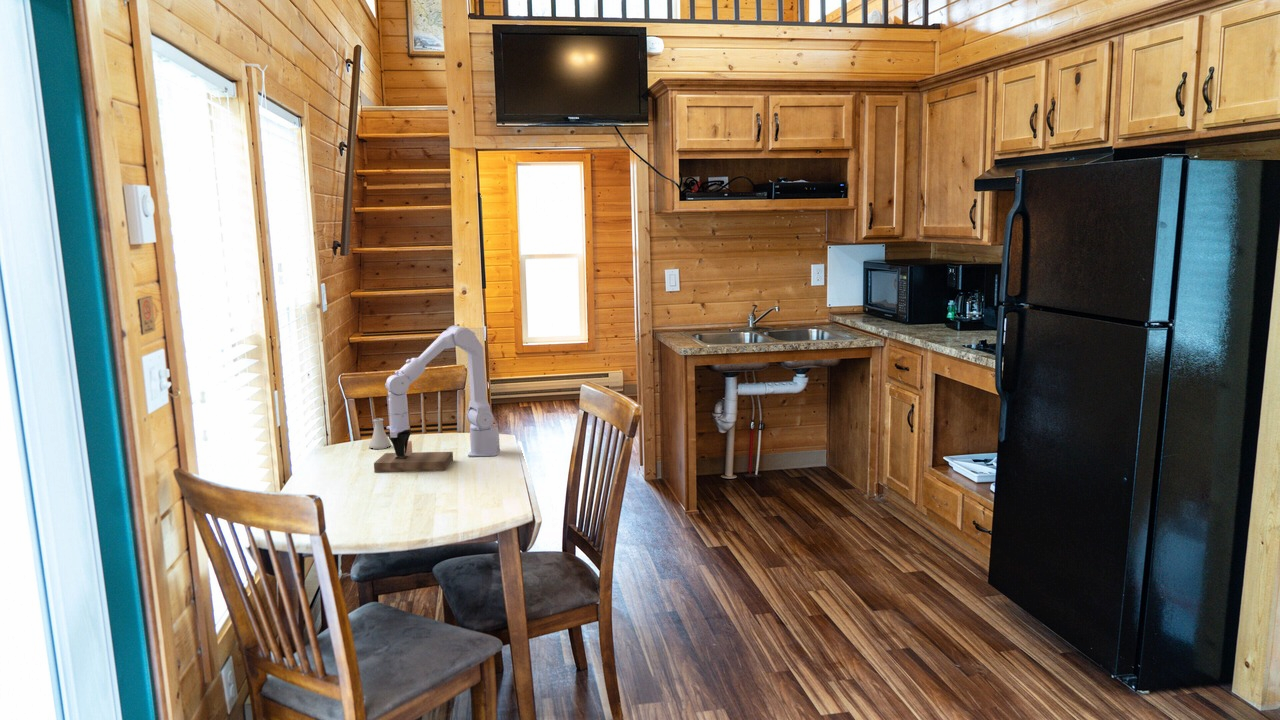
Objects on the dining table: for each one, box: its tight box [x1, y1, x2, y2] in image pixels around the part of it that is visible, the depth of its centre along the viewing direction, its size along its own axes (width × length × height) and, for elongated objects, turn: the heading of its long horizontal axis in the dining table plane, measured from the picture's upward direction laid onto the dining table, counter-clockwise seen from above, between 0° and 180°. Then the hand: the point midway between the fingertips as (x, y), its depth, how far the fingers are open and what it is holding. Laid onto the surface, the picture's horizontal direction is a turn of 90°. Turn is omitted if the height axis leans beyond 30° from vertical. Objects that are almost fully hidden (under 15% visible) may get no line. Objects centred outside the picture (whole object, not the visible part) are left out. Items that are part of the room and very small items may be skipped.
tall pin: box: [398, 448, 406, 459], centre depth 266 cm, size 2×2×8 cm
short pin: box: [406, 440, 413, 453], centre depth 282 cm, size 2×2×4 cm
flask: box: [368, 418, 392, 450], centre depth 292 cm, size 7×7×10 cm
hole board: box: [373, 451, 454, 473], centre depth 267 cm, size 22×12×3 cm, turn 90°
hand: (401, 454), depth 267 cm, fingers closed on tall pin, 2 cm apart
